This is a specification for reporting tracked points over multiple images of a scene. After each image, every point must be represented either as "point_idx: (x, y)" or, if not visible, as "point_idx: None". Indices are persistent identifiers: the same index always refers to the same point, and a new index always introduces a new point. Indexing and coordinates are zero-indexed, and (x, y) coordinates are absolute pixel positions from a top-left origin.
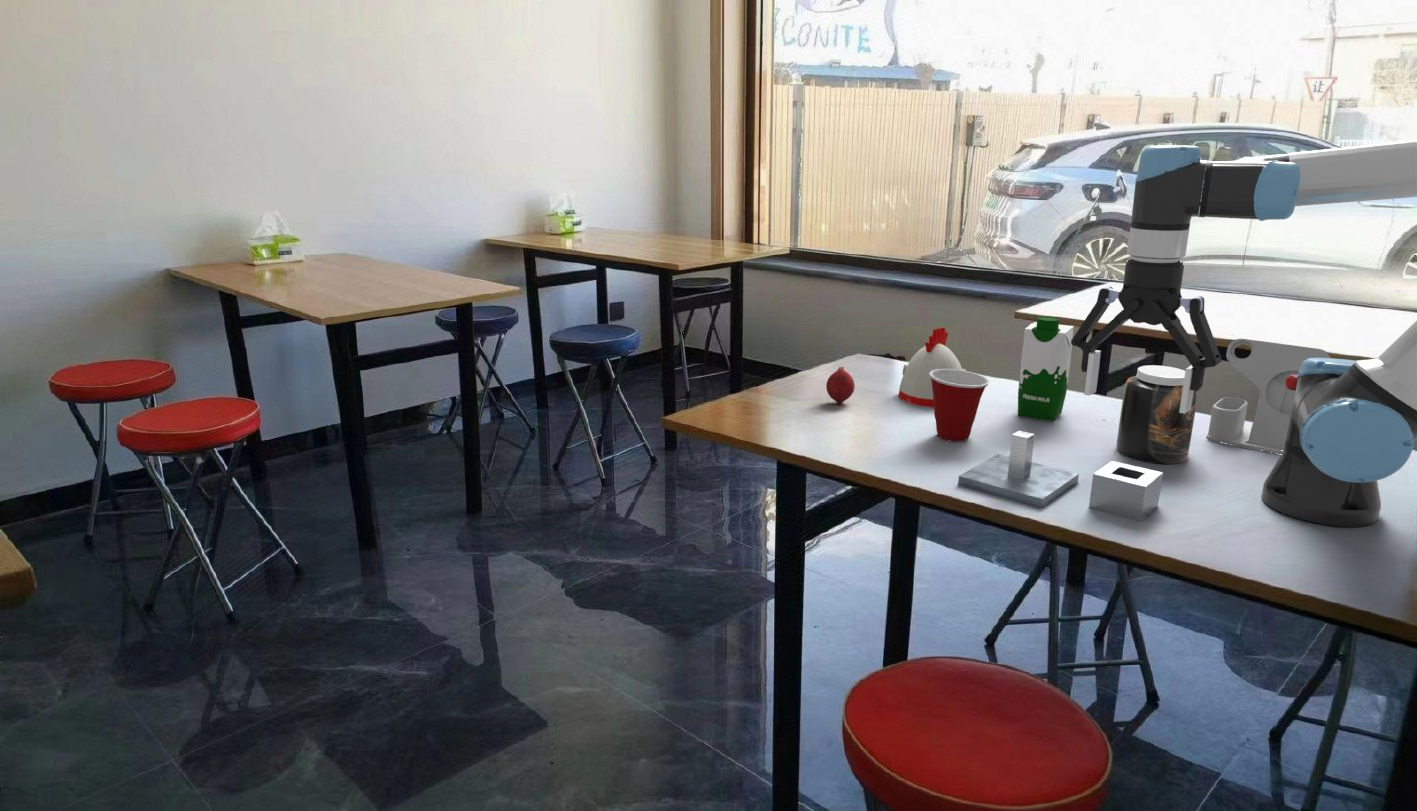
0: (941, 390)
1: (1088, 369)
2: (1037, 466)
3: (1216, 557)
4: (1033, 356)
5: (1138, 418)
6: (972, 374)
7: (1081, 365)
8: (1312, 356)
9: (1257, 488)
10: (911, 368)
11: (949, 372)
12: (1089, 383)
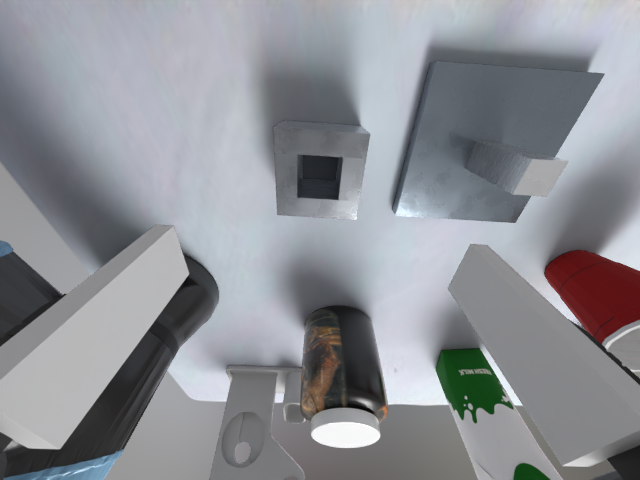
0: None
1: (565, 320)
2: (454, 208)
3: (144, 42)
4: (519, 432)
5: (355, 350)
6: (626, 366)
7: (602, 345)
8: None
9: (229, 298)
10: None
11: None
12: (502, 272)
